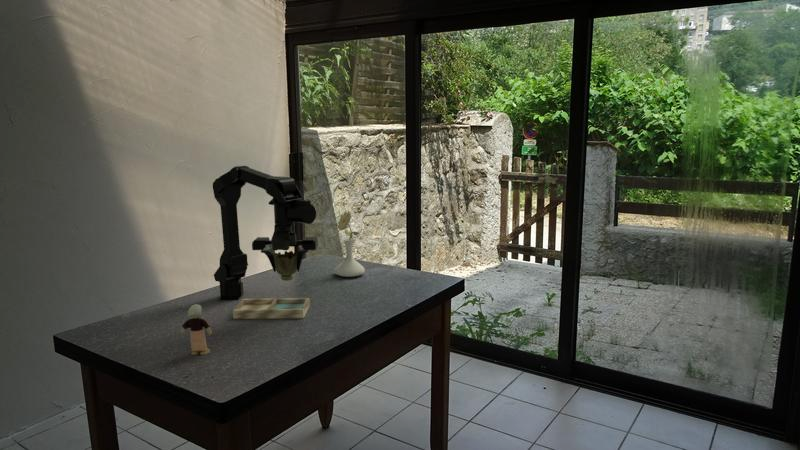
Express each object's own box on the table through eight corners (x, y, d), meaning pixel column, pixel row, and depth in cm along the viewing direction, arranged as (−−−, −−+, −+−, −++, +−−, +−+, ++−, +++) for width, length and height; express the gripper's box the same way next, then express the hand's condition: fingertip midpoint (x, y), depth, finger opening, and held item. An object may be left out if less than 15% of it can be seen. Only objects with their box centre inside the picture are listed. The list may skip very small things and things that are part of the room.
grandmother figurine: (215, 348, 144) (212, 301, 142) (212, 354, 141) (209, 306, 138) (184, 350, 143) (180, 303, 141) (180, 356, 140) (176, 308, 137)
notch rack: (233, 318, 166) (232, 310, 165) (243, 306, 177) (243, 298, 176) (303, 318, 166) (303, 310, 165) (309, 305, 177) (309, 298, 176)
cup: (278, 284, 165) (276, 257, 163) (271, 278, 171) (270, 252, 169) (302, 280, 168) (301, 254, 166) (295, 274, 174) (294, 249, 173)
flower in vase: (334, 271, 216) (332, 207, 212) (364, 270, 218) (363, 206, 213) (334, 281, 204) (332, 213, 199) (366, 279, 205) (364, 212, 200)
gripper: (245, 225, 158) (248, 279, 161) (311, 225, 158) (313, 279, 161) (255, 218, 169) (258, 268, 172) (317, 218, 169) (319, 268, 172)
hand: (286, 271), depth 169 cm, fingers closed on cup, 7 cm apart
